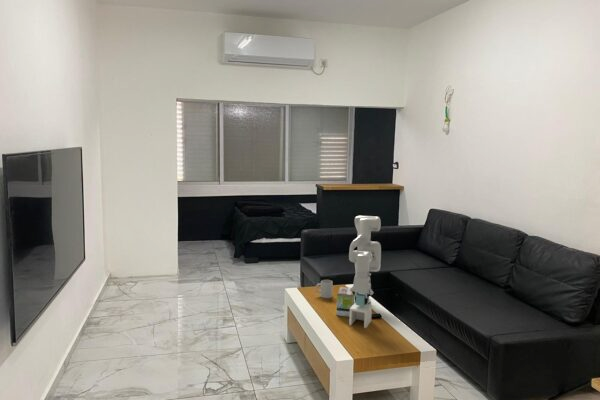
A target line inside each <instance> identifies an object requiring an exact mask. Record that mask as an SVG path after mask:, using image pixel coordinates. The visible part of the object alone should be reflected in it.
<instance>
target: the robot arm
mask: <svg viewBox="0 0 600 400" xmlns="http://www.w3.org/2000/svg"><path fill="white" fill-rule="evenodd" d="M381 222H382V221H381V218H380V216H373V215H357V216H355V217H354V226H355V228H356V233H357V237H356V238H354V239H353V240H352V241H351V243H350V245H349V252H348V260H349V262H351V263H354V267H355V268H354V269H355V275H354V278H353V284H352V287H350V288H351V289H350V291H351V292H352V293H353V295H354V303H356V295H357V294H358V293H365V305H366V304H370V303H371V302H372V301H371V299H370V296H373V294H374V291H373V289H372V284H371V275H372V273H370V272H379V271H380V270H381V266H382V265H381V260H382V245H381V243H380V242H379V241H372V240H371V239H372V238H371V237H372V235H371V234H372V232H379V231H380V230H381V225H382V223H381ZM356 248H357V249H356ZM355 249H356V250H355ZM368 293H369V294H368ZM368 297H369V301H368Z"/></svg>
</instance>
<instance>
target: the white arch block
mask: <svg viewBox="0 0 600 400" xmlns="http://www.w3.org/2000/svg"><path fill="white" fill-rule="evenodd" d="M372 305H373V304H370V303H369V304H366V305H364V306H359V305H356V303H354V305H353V306H352V307H351V308H350V317H349V319H348V324H349V326H352V325H353V323H355V322H356V320H360V321H363V328H364V329H366V328H368V326H369V325H370V324H371V322H372V315H373V313H372V310H373V306H372Z"/></svg>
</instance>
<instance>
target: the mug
mask: <svg viewBox="0 0 600 400" xmlns="http://www.w3.org/2000/svg"><path fill="white" fill-rule="evenodd" d="M333 283H334V282H333V280H330V279H322V280H321V281H320V283H319V282H318V283H317V284H316V286H315V291H316V293H318V294H320V297H321V298H322V299H332V298H333V290H334V289H333V288H334V285H333ZM319 286H320V290H318V288H319Z"/></svg>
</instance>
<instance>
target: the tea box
mask: <svg viewBox="0 0 600 400" xmlns="http://www.w3.org/2000/svg"><path fill="white" fill-rule="evenodd" d="M351 288H352V287H348V286H340V287H339V290H338V291H337V298H336V300H337V301H336V312H335V313H336V314H335V315H336V316H341V317H350V308H351V307H352V306H353V305H354V298H355V296H354V295H353V293H352V292H351V291H350V289H351Z"/></svg>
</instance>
